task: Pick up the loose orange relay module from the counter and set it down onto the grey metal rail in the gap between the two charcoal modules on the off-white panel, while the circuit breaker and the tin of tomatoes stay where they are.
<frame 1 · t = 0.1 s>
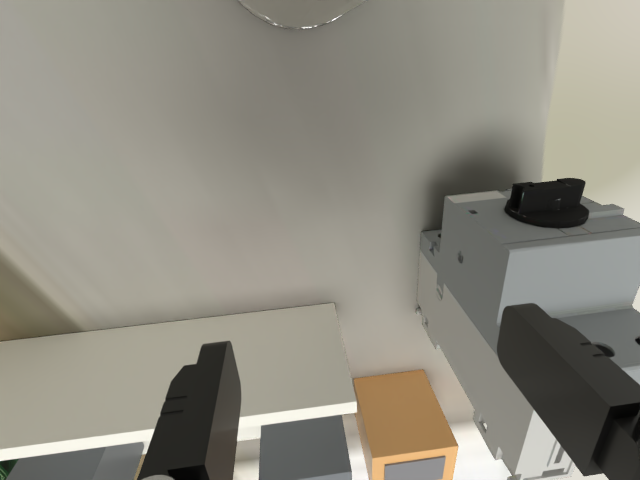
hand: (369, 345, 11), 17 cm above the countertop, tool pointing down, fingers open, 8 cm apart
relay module: (387, 391, 37), on the countertop
circuit breaker: (464, 236, 30), on the countertop
panel: (189, 388, 34), on the countertop
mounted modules: (192, 463, 30), on the rail, point 6 cm above the countertop
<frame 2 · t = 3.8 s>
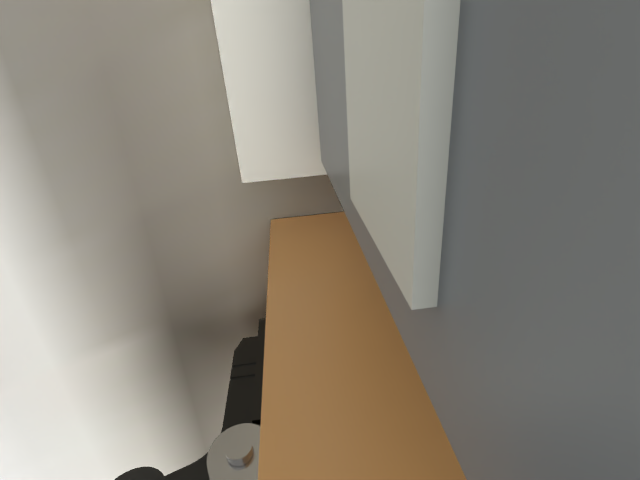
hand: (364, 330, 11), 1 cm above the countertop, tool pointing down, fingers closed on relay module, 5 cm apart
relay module: (357, 305, 13), on the countertop, touching gripper
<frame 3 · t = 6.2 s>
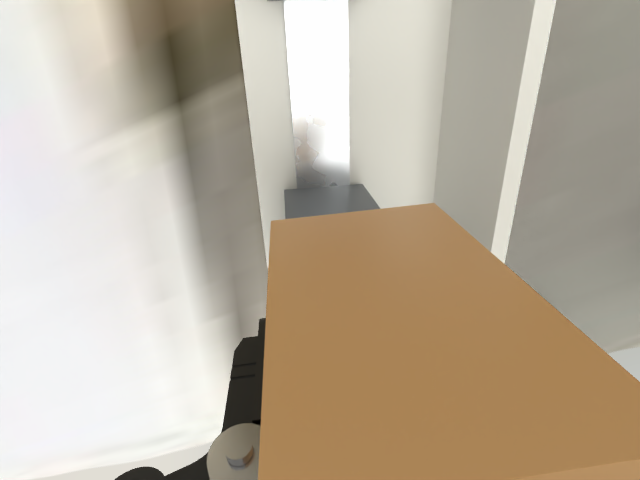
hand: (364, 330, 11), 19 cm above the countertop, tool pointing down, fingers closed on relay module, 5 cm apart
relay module: (357, 306, 13), point 18 cm above the countertop, touching gripper
rail: (319, 86, 25), point 1 cm above the countertop
panel: (344, 84, 26), on the countertop
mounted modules: (326, 108, 21), on the rail, point 6 cm above the countertop
when the fingers open (3 cm above the countertop, at t = 8.9 s): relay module stays where it is, resting on rail.
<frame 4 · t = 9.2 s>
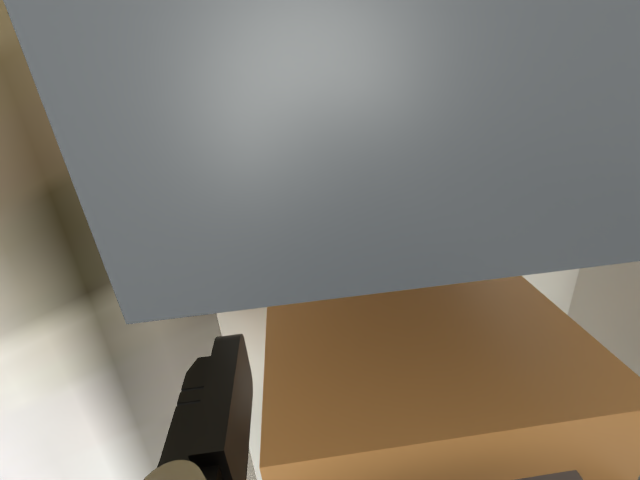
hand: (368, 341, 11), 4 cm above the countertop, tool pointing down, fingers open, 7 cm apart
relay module: (355, 297, 13), point 2 cm above the countertop, touching rail
panel: (396, 246, 14), on the countertop
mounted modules: (382, 394, 9), on the rail, point 6 cm above the countertop
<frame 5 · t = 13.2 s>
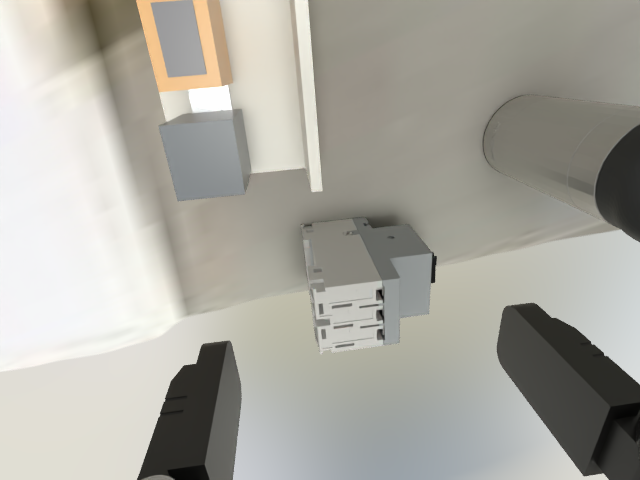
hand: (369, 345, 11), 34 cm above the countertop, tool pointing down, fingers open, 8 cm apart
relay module: (200, 45, 35), point 2 cm above the countertop, touching rail
rail: (198, 34, 35), point 1 cm above the countertop
circuit breaker: (357, 243, 48), on the countertop
panel: (221, 33, 36), on the countertop
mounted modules: (189, 43, 31), on the rail, point 6 cm above the countertop
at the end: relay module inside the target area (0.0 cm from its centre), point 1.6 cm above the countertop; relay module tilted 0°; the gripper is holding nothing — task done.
